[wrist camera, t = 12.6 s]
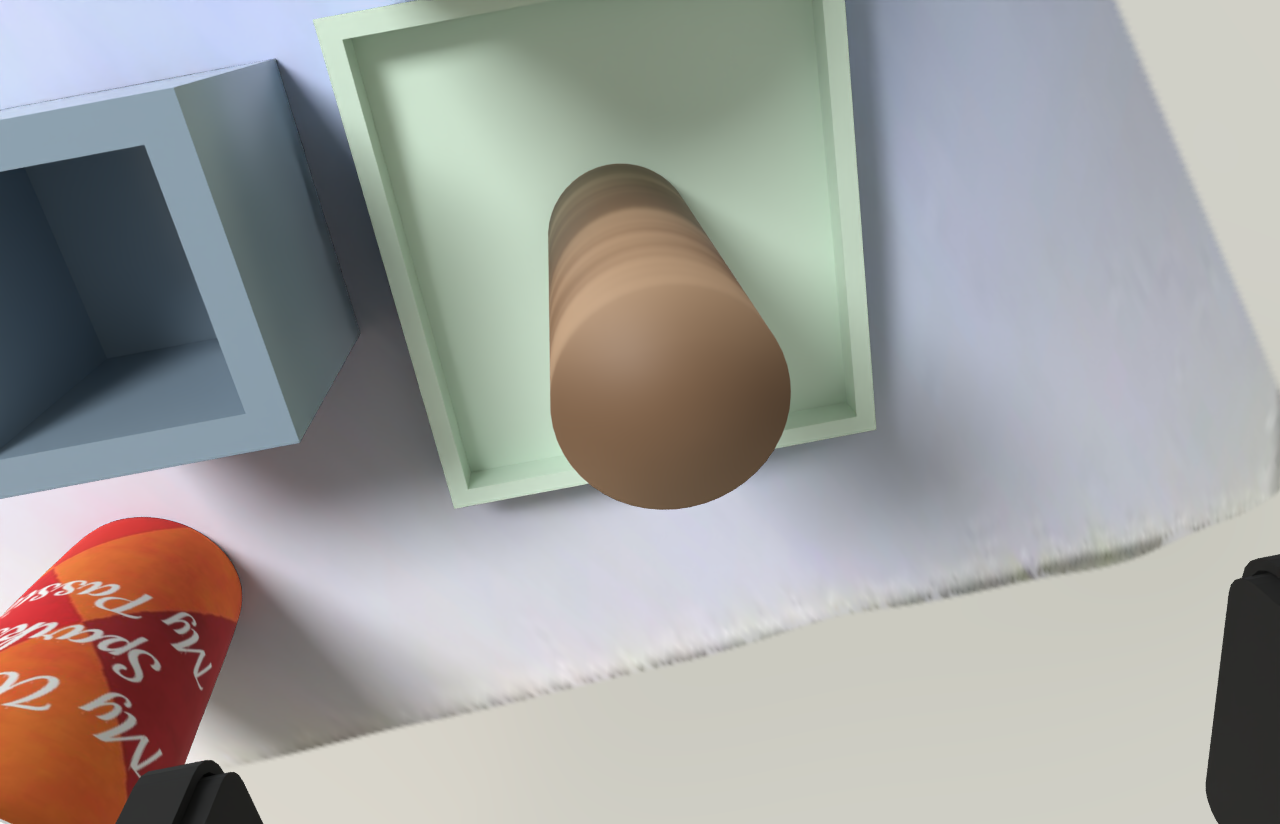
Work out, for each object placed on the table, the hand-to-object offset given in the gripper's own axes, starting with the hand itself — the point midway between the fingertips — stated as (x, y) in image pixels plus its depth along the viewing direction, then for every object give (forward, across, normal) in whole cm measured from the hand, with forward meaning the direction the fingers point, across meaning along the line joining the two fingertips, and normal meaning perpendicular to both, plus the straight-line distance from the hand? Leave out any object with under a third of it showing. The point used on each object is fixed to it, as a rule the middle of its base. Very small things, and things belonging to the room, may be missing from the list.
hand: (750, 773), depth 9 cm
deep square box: (+23, +13, -2) cm, 26 cm away
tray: (+23, 0, +1) cm, 23 cm away
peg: (+22, 0, +1) cm, 22 cm away
